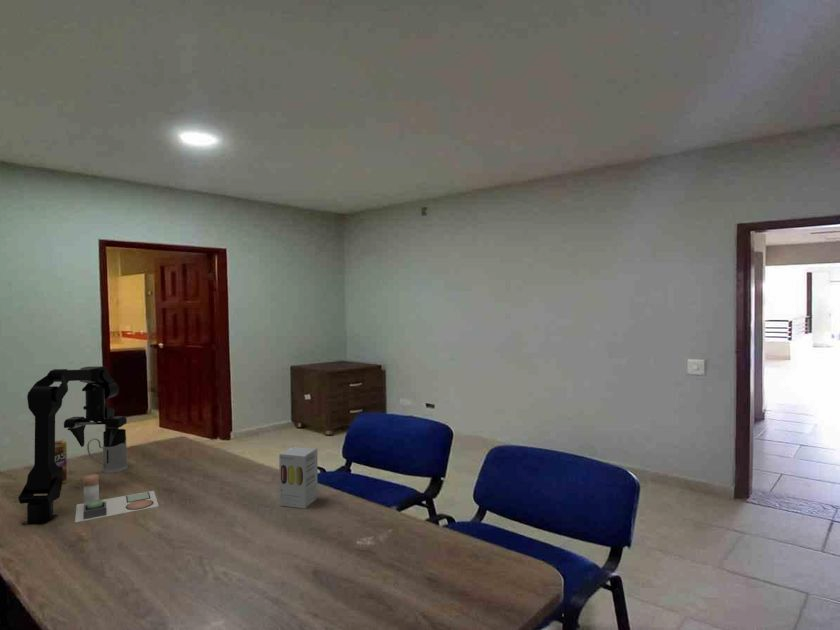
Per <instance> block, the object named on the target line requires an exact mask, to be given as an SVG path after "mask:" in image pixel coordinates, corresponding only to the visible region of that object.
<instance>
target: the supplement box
mask: <svg viewBox="0 0 840 630" xmlns="http://www.w3.org/2000/svg"><path fill="white" fill-rule="evenodd" d="M278 456H279V464H278V465H279V470H278V471H279V475H278V476H279V480H278V485H279V486H278V487H279V488H278V489H279V490H278V491H279V493H278V494H279V495H278V497H279V499H278V500H279V501H278V505H279V506H280V507H289V508H295V509H306V508H308V507H309V506H310V505H311V504H312V503H313V502H315V501H316V500H317V499H318V448H315V447H313V448H312V447H300V446H291V447H290V448H288V449H285V450H284V451H282V452H279V455H278Z"/></svg>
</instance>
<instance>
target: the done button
mask: <svg viewBox="0 0 840 630" xmlns="http://www.w3.org/2000/svg"><path fill="white" fill-rule="evenodd" d="M102 500H103V499H99V500H95V501H91V502H89V503H87V509H88V510H93V509H98V508H101V507H103V501H102Z"/></svg>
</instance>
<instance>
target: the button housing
mask: <svg viewBox="0 0 840 630" xmlns="http://www.w3.org/2000/svg"><path fill="white" fill-rule="evenodd" d="M83 513H84V519H88V518H94V517H99V516H104V515H106V501H105V502H103V507H101V508H98V509H93V510H88V509H87V505H84V511H83Z"/></svg>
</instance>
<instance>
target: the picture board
mask: <svg viewBox="0 0 840 630" xmlns="http://www.w3.org/2000/svg"><path fill="white" fill-rule="evenodd" d="M101 500H102V501H103V502H105V501H106V515H104V516H99V517H94V518H88V519H84V513H83V511H84V502H82V503H78V504H76V508H75V519H74V523H80V522H87V521H89V520H90V521H91V520H96V519H102V518H106V517H110V516H116V515H121V514H126V513H127V514H128V513H132V512H137V511H141V510H147V509H152V508H158V507H159V506H160V505H159V503H158V499H157V496H156V492H155V490H149V491H145V492H141V493H139V492H138V493H133V494H128V495H127V494H126V495H122V496H116V497H112V498H104V499H101Z"/></svg>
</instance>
